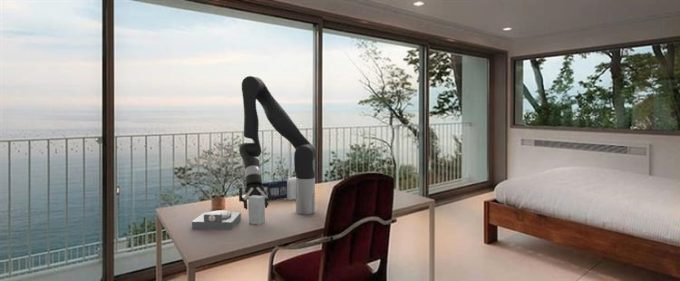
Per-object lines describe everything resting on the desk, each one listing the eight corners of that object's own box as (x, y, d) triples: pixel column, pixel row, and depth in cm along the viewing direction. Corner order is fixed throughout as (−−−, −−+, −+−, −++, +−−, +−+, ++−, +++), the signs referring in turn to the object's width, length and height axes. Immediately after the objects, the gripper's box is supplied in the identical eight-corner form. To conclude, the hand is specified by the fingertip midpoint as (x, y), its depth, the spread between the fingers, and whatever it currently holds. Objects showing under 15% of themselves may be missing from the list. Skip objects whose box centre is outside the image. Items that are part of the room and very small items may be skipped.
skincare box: (265, 222, 171) (264, 195, 170) (260, 224, 167) (259, 198, 166) (253, 220, 173) (253, 194, 172) (248, 223, 169) (247, 196, 168)
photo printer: (302, 196, 217) (302, 175, 216) (305, 198, 214) (305, 176, 213) (285, 199, 212) (285, 177, 210) (289, 200, 208) (289, 178, 207)
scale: (240, 219, 175) (240, 206, 175) (231, 229, 161) (231, 215, 161) (204, 218, 175) (203, 205, 175) (192, 228, 162) (191, 214, 161)
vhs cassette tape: (256, 202, 204) (256, 184, 203) (254, 201, 207) (254, 183, 206) (288, 198, 213) (288, 181, 212) (286, 197, 216) (286, 180, 215)
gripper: (237, 173, 174) (240, 204, 164) (269, 172, 178) (273, 202, 169) (237, 182, 179) (239, 213, 170) (267, 181, 184) (271, 210, 174)
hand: (256, 207), depth 169 cm, fingers open, 8 cm apart
